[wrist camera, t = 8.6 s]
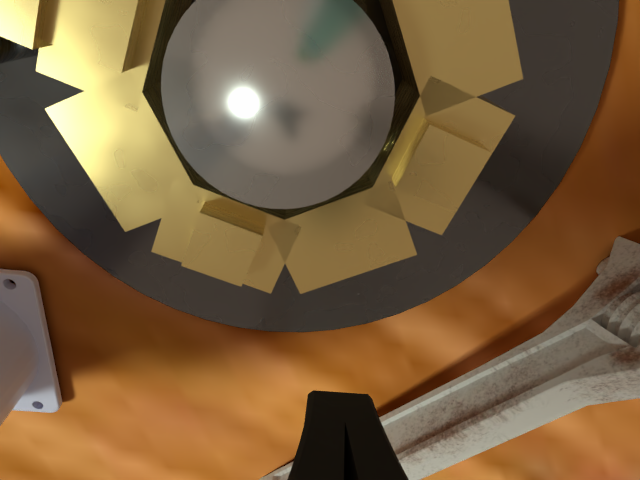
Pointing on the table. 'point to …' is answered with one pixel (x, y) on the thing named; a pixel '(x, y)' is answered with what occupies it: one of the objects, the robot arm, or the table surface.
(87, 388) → the table surface
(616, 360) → the wrench
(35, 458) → the table surface
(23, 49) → the stop pin
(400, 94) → the golden segmented ring
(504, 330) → the table surface
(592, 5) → the cap base
